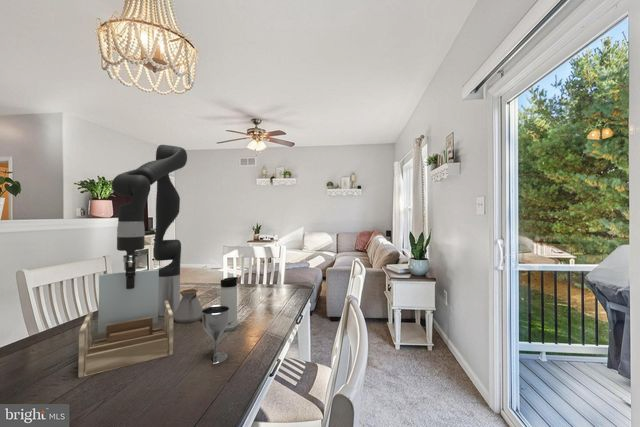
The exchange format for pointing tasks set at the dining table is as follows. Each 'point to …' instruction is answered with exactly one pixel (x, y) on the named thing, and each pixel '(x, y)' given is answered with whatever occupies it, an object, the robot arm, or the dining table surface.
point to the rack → (123, 347)
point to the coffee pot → (188, 307)
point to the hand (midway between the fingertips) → (130, 287)
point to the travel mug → (229, 300)
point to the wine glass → (216, 327)
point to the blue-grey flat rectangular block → (127, 298)
